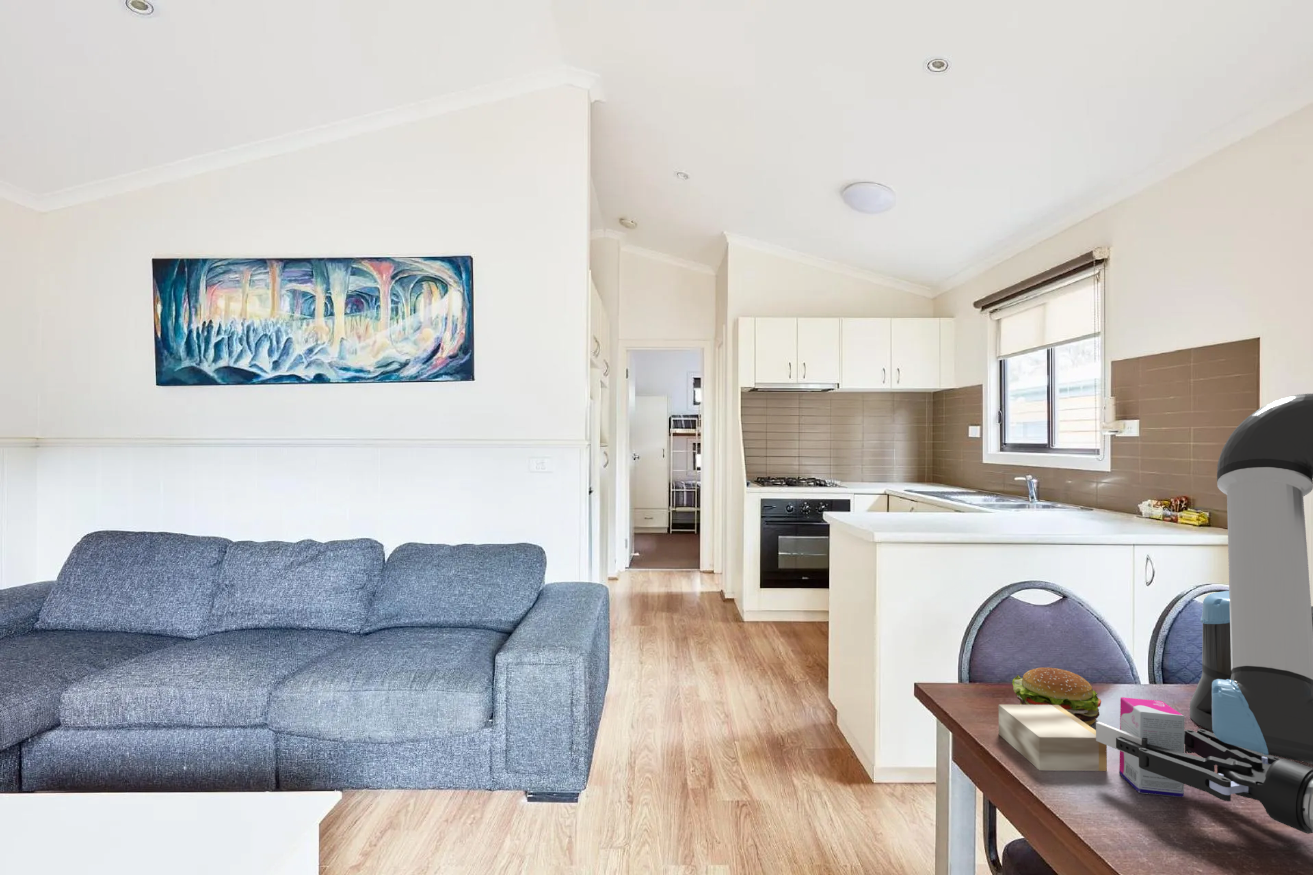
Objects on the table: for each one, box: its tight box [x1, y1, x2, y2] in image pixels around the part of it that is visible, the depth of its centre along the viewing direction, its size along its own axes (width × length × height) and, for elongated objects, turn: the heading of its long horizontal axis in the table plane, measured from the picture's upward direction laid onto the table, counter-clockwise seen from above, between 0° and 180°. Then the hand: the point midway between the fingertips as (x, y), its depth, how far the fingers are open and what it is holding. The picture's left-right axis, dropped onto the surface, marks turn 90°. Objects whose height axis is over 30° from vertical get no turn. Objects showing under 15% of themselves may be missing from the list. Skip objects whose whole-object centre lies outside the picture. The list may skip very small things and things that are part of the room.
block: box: [998, 704, 1108, 772], centre depth 103 cm, size 12×10×5 cm
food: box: [1011, 667, 1102, 727], centre depth 117 cm, size 14×14×8 cm
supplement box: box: [1118, 696, 1186, 798], centre depth 93 cm, size 6×6×12 cm
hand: (1115, 725), depth 97 cm, fingers closed on supplement box, 8 cm apart
